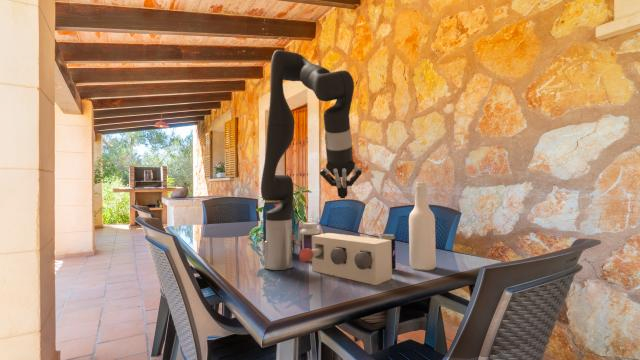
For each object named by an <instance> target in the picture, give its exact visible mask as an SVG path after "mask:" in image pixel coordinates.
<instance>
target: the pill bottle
mask: <svg viewBox="0 0 640 360" xmlns="http://www.w3.org/2000/svg"><path fill="white" fill-rule="evenodd" d="M317 226H318V223H317V222H311V221H310V222H303V223H302V227H303V228H302V229H300V232H299V238H300V239H299V241H300V243H299V245H300V246H299V247H300V248H299V249H300V250H301V249H305V248H310V249H311V250H312V236H314V235H319V234H321V230H320V229H319V228H317ZM300 250H299V251H300ZM308 262H312V259H311V260H309V261H308Z"/></svg>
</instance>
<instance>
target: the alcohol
mask: <svg viewBox="0 0 640 360" xmlns="http://www.w3.org/2000/svg"><path fill="white" fill-rule="evenodd" d="M414 184H415V192H414V193H415V195H414V207H413V209H412V210H411V211H410V212H409V217H408V244H409V245H408V247H409V248H408V250H409V256H408V258H409V259H408V260H409V266H410V267H411V269H412V270H416V271H422V272H424V271H432V270H434V269H435V268H436V266H437V265H436V264H437V262H436V261H437V259H436V255H437V254H436V217H435V214H434V212H433V211H432V210H431V209H430V205H429V198H428V197H429V196H428V185H427V184H428V182H425V181H423V182H422V181H416V182H415V183H414Z"/></svg>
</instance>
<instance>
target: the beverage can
mask: <svg viewBox="0 0 640 360" xmlns="http://www.w3.org/2000/svg"><path fill="white" fill-rule="evenodd" d="M378 239H386V240H391V248H392V272H393V271H394V270H395V269H396V265H397V264H396V237H395V234H392V233H382V234H381V233H380V234H379V236H378Z"/></svg>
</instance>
